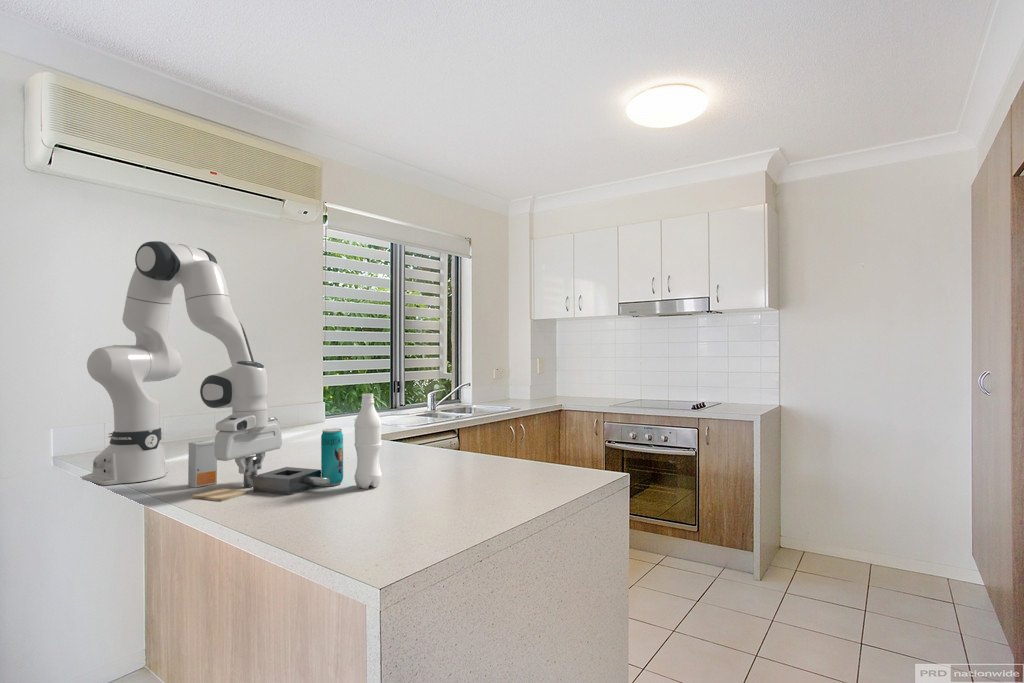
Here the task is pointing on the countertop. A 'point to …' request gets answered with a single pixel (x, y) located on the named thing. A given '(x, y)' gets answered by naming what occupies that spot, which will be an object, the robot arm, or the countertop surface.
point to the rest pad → (219, 494)
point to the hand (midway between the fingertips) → (250, 471)
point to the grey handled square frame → (288, 480)
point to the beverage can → (332, 455)
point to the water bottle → (367, 444)
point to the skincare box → (202, 464)
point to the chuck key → (250, 470)
